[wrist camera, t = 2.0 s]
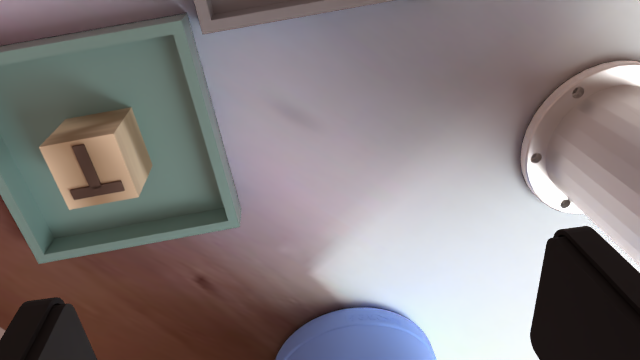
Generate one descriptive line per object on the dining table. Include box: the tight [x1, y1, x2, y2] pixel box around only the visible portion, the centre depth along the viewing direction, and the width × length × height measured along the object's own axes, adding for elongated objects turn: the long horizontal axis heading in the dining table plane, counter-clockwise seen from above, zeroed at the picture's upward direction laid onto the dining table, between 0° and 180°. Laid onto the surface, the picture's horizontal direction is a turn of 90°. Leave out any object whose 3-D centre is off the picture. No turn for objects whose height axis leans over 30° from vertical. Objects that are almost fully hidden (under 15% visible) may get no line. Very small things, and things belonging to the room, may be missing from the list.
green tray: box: [0, 13, 241, 264], centre depth 33 cm, size 15×15×2 cm
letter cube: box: [39, 107, 153, 210], centre depth 32 cm, size 4×4×5 cm
